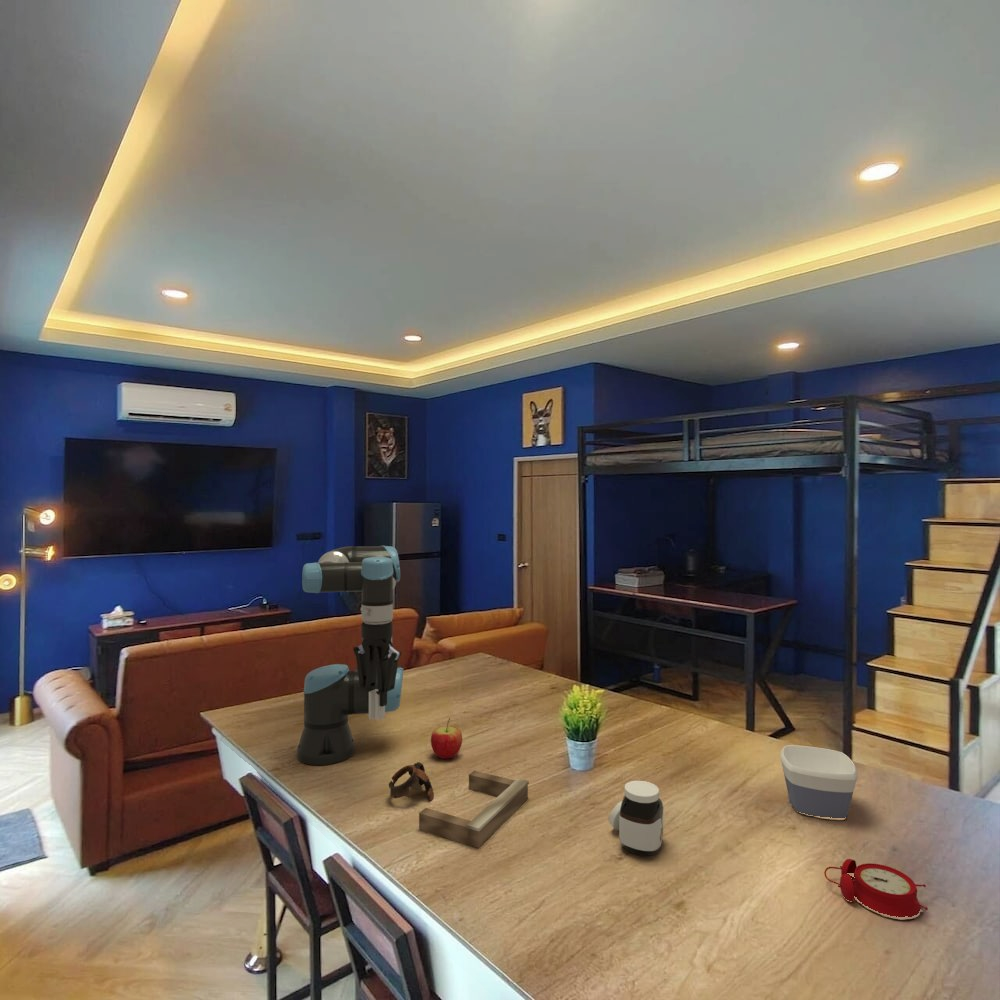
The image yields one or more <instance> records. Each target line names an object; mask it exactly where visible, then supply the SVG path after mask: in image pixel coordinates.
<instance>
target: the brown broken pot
mask: <svg viewBox="0 0 1000 1000" xmlns="http://www.w3.org/2000/svg"><path fill="white" fill-rule="evenodd" d="M407 773H408V775H409V778H408V779H406V781H404V782H403V783H401V784H399V785H397V786H396V785H395V784H396V783H397V781H398V780H399V779H401V777H402V776H404V775H405V774H407ZM391 779H392V780H390V782H389V783H388V788H389V789H390V791H389V793H390V797H391V798H393V799H398V798H402V797H406V798H410V796H409V795H410V794H409V792H410V789H413V790H414V789H416V790H419V789H421V788H422V787H424V789H425V792H427V796H428V799H429V802H432V801H433V799H434V796H435V794H434V793H435V792H434V789H433V786H432V783H431V780H430V778H429V775H427V773H426V769H425V766H424V763H422V762H419V761H417V762H415V763H413V764H409V765H405V766H403V767H401V768H399V769H398V770H397V771H396V772H395V773H394V774H393V775H392V776H391Z"/></svg>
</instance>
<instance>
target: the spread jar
mask: <svg viewBox="0 0 1000 1000" xmlns="http://www.w3.org/2000/svg"><path fill="white" fill-rule="evenodd" d="M608 818H609V819H608V821H609V824H610V825H611V826H612V827H613V828H614V830H616V831H619V832H618V833H619V842H620V844H621V845H622V847H624V849H626V850H627V851H629V852H630V853H633V854H635V855H638V856H652V855H656V854H657V853H658V852H659V851H660V850H661V846H662V843H663V838H664V804H663V801H662V799H661V798H660V788H659V787H658V786H657V785H656V784H655V783H652V782H649V781H645V780H633V781H632V780H631V781H628V782H626V784H624V796H623V799H622V800H621V801H619V802H618V803H617V804H616V805H615V806H614V807H613V809H612V810H611V812H610V814H609V817H608Z"/></svg>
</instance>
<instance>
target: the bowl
mask: <svg viewBox="0 0 1000 1000" xmlns="http://www.w3.org/2000/svg"><path fill="white" fill-rule="evenodd" d="M780 762H781V766H782V773H783V775H784V780H785V785H786V789H787V795H788V800H789V803H790V805H791V804H792V805H791V806H793V807H794V808H793V807H792V808H793V810H794V809H795V810H796V811H798V812H801V813H805V814H808V815H813V816H820V817H830V818H831V817H832V818H845V817H846V816H847V817H848V813H849V810H850V806H851V803H852V799H853V795H854V790H855V788H856V784H857V780H858V777H859V776H858V769H857V767H856V765H855V763H854V762H853V761H852V759H851V758H850V757H849V756H848V755H846V754H845V753H844V752H842V751H839V750H833V749H829V748H823V747H816V746H809V745H808V746H807V745H795V744H793V745H792V744H791V745H790V744H789V745H788V744H786V745H785V746H783V748H781V751H780ZM795 810H794V811H795ZM796 811H795V812H796ZM798 812H797V813H798ZM847 817H846V818H847Z"/></svg>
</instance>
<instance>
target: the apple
mask: <svg viewBox="0 0 1000 1000" xmlns="http://www.w3.org/2000/svg"><path fill="white" fill-rule="evenodd" d="M450 720H451V718H450V717H449V718H448V719H447V725H442V726H439V727H437V728H436V729H434V730H433V731H432V732H431V736H430V745H431V748H432V751H433V752H434V754H435V756H437V757H438V758H439V759H443V760H448V759H452V758H454V757H456V755H458V753H459V751H460V750H461V748H462V743H463V735H462V731H461V730H460V729H459V728H458V727H457V726H453V725H451V726H450V725H449V723H450Z"/></svg>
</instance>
